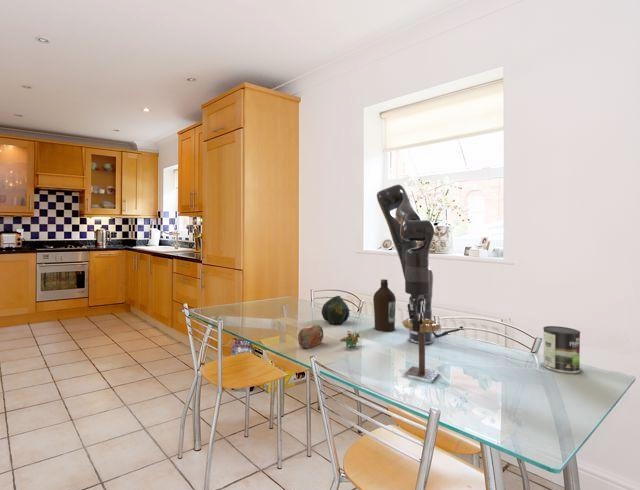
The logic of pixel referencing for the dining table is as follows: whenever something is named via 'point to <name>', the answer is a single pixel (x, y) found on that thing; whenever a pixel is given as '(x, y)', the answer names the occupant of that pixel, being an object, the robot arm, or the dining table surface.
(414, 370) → the rack
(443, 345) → the dining table surface
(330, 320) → the squash
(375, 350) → the dining table surface
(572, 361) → the coffee can
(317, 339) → the reddish brown stone
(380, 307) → the olive oil
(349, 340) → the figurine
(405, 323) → the brass ring
